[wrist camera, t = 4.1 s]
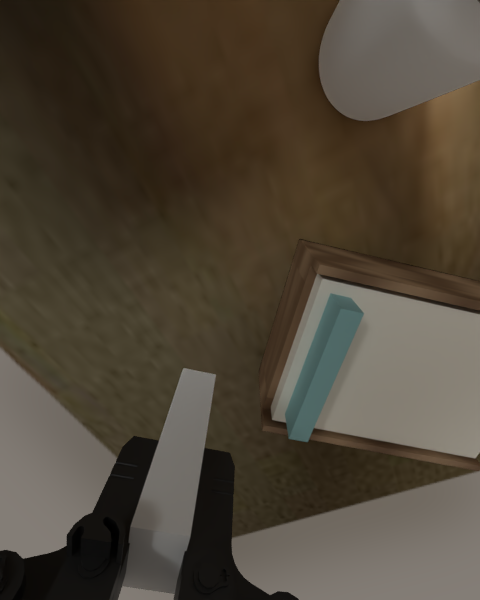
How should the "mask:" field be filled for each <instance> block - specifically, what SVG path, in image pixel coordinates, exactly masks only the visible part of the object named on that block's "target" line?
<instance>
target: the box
mask: <svg viewBox="0 0 480 600" xmlns="http://www.w3.org/2000/svg"><path fill="white" fill-rule="evenodd" d="M317 274H321V275H326V276H330V277H334V278H339V279H343V280H348V281H352V282H356V283H361V284H365V285H370V286H374V287H378V288H383V289H387V290H392V291H396V292H400V293H405V294H409V295H414V296H418V297H422V298H427V299H431V300H435V301H440V302H444V303H449V304H453V305H457V306H462V307H466V308H471V309H475V310H479V311H480V281H476V280H472V279H468V278H463V277H459V276H455V275H451V274H446V273H442V272H438V271H434V270H429V269H425V268H421V267H417V266H412V265H408V264H404V263H400V262H395V261H391V260H387V259H382V258H378V257H374V256H370V255H365V254H361V253H357V252H353V251H348V250H344V249H340V248H336V247H331V246H327V245H323V244H319V243H314V242H310V241H306V240H302V239H299V242H298V245H297V248H296V252H295V255H294V258H293V261H292V265H291V268H290V271H289V274H288V278H287V281H286V284H285V287H284V291H283V294H282V297H281V300H280V304H279V307H278V310H277V313H276V317H275V320H274V323H273V326H272V330H271V333H270V336H269V339H268V343H267V346H266V349H265V352H264V356H263V359H262V362H261V365H260V369H259V387H260V404H261V420H262V431H267V432H272V433H277V434H283V435H288V431H287V425H286V423H285V422H280V421H275V420H272V415H271V405H272V402H273V399H274V396H275V393H276V390H277V388H278V385H279V382H280V379H281V376H282V373H283V370H284V367H285V365H286V362H287V359H288V356H289V353H290V350H291V347H292V344H293V342H294V339H295V336H296V333H297V330H298V327H299V324H300V321H301V319H302V316H303V313H304V310H305V307H306V304H307V301H308V298H309V296H310V293H311V290H312V287H313V284H314V281H315V278H316V275H317ZM309 440H315V441H320V442H325V443H331V444H336V445H341V446H347V447H352V448H358V449H363V450H368V451H374V452H379V453H384V454H390V455H395V456H400V457H406V458H411V459H416V460H422V461H427V462H432V463H438V464H443V465H449V466H454V467H459V468H465V469H470V470H475V471H479V470H480V463H479V462H478V460H477V459H476V458H470V457H464V456H459V455H454V454H449V453H443V452H438V451H433V450H428V449H422V448H417V447H412V446H406V445H401V444H396V443H391V442H385V441H380V440H375V439H370V438H364V437H359V436H354V435H349V434H343V433H338V432H333V431H327V430H322V429H317V428H314V429H313V431H312V433H311V436H310V438H309Z"/></svg>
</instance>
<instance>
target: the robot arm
mask: <svg viewBox="0 0 480 600" xmlns="http://www.w3.org/2000/svg"><path fill="white" fill-rule="evenodd" d="M215 377H216V375H215V374H210V373H205V372H200V371H195V370H190V369H185V368H183V370H182V373H181V376H180V379H179V382H178V385H177V388H176V391H175V394H174V397H173V400H172V403H171V406H170V409H169V412H168V415H167V418H166V421H165V424H164V427H163V430H162V433H161V436H160V439H159V441H158V440H153V439H147V438H142V437H137V436H134V437H132V438H131V439H130V440H129V441H128V442H127V443H126V444H125V445H124V446H123V447H122V450H121V452H120V454H119V456H118V458H117V460H116V463H115V465H114V467H113V469H112V471H111V474H110V476H109V478H108V480H107V482H106V484H105V487H104V489H103V491H102V493H101V495H100V497H99V500H98V502H97V504H96V506H95V508H94V510H93V513H91V514H88V515H86V516H84V517H83V518H82V519H81V520H79V521H78V522H77V523H76V524H75V525H74V526H73V527H72V529H71V530H70V532H69V533H68V534H67V546H65V547H64V548H62V549H60V550H58V551H55V552H52V553H48V554H43V555H39V556H34V557H30V558H25V559H22V558H21V557H20V556H19V555H18V554H17V553H16V552H12V551H8V550H3V551H0V600H118V597H119V594H120V591H121V587H122V586H126V587H133V588H139V589H146V590H153V591H159V592H166V593H173V594H175V595H174V600H299V599H298V598H296V597H295V596H293V595H291V594H290V593H288V592H276V593H274V594H272V595H269V594H267V593H266V592H264V591H262V590H261V589H259V588H257V587H256V586H254V585H253V584H251V583H250V582H248V581H247V580H246V579H245V578H244V577H243V576H242V575H241V573H240V572H239V571H238V569H237V567H236V565H235V563H234V559H233V556H232V547H231V540H232V518H233V494H234V470H235V466H234V463H233V461H232V458H231V455H230V453H228V452H223V451H218V450H212V449H207V448H204V447H205V440H206V434H207V428H208V421H209V415H210V409H211V402H212V396H213V389H214V383H215ZM122 584H123V585H122Z"/></svg>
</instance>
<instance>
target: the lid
mask: <svg viewBox="0 0 480 600" xmlns="http://www.w3.org/2000/svg"><path fill="white" fill-rule="evenodd" d="M271 415H272V420H275V421H280V422H285V423H286V425H287V431H288V437H289V439H293V440H298V441H303V442H308V440H309V438H310V436H311V433H312V431H313V429H314V428H317V429H322V430H327V431H333V432H338V433H343V434H349V435H354V436H359V437H364V438H370V439H375V440H380V441H385V442H391V443H396V444H401V445H406V446H412V447H417V448H422V449H428V450H433V451H438V452H443V453H449V454H454V455H459V456H464V457H470V458H476V457H477V455H478V454H479V453H480V311H479V310H475V309H471V308H466V307H462V306H457V305H453V304H449V303H444V302H440V301H435V300H431V299H427V298H422V297H418V296H414V295H409V294H405V293H400V292H396V291H392V290H387V289H383V288H378V287H374V286H370V285H365V284H361V283H356V282H352V281H348V280H343V279H339V278H334V277H330V276H326V275H321V274H317V275H316V278H315V281H314V284H313V287H312V290H311V293H310V296H309V298H308V301H307V304H306V307H305V310H304V313H303V316H302V319H301V321H300V324H299V327H298V330H297V333H296V336H295V339H294V342H293V344H292V347H291V350H290V353H289V356H288V359H287V362H286V365H285V367H284V370H283V373H282V376H281V379H280V382H279V385H278V388H277V390H276V393H275V396H274V399H273V402H272V405H271Z"/></svg>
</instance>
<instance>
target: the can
mask: <svg viewBox="0 0 480 600" xmlns="http://www.w3.org/2000/svg"><path fill="white" fill-rule="evenodd" d="M319 75H320V80H321V84H322V87H323V90H324V92H325V95H326V96H327V98H328V100H329V101H330V103H331V104H332V105H333V106H334V107H335V109H337V110H338V111H339V112H340V113H342V114H343V115H345V116H347V117H349V118H351V119H355V120H359V121H372V120H378V119H382V118H385V117H388V116H390V115H393V114H396V113H398V112H401V111H403V110H406V109H408V108H411V107H414V106H416V105H419V104H421V103H424V102H426V101H429V100H431V99H434V98H436V97H439V96H441V95H444V94H446V93H449V92H451V91H454V90H456V89H459V88H461V87H464V86H466V85H469V84H471V83H474V82H476V81H479V80H480V0H340V1H339V3H338V5H337V7H336V9H335V11H334V12H333V14H332V16H331V18H330V20H329V22H328V25H327V27H326V29H325V32H324V35H323V38H322V42H321V46H320V52H319Z"/></svg>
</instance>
